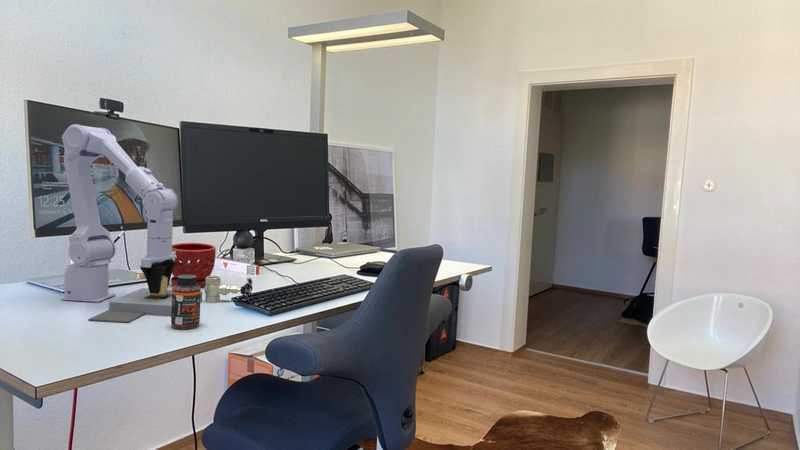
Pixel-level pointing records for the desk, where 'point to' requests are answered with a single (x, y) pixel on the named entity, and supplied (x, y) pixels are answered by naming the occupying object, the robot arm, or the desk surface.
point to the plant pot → (194, 261)
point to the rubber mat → (116, 316)
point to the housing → (143, 303)
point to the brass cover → (161, 289)
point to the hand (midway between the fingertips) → (158, 291)
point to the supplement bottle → (185, 302)
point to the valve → (223, 289)
